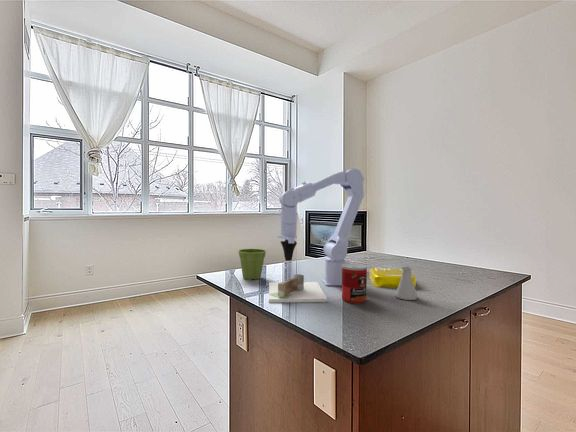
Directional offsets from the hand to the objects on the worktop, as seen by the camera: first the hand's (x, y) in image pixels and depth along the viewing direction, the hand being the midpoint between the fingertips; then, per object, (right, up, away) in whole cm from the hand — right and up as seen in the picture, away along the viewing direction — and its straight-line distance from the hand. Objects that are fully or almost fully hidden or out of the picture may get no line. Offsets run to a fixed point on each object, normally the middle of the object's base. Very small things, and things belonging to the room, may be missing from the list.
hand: (288, 260), depth 112 cm
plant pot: (-15, -9, +12) cm, 21 cm away
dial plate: (+2, -10, -8) cm, 13 cm away
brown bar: (+1, -8, -12) cm, 15 cm away
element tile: (+40, -10, +7) cm, 42 cm away
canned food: (+21, -11, -15) cm, 28 cm away
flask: (+39, -11, -12) cm, 42 cm away
